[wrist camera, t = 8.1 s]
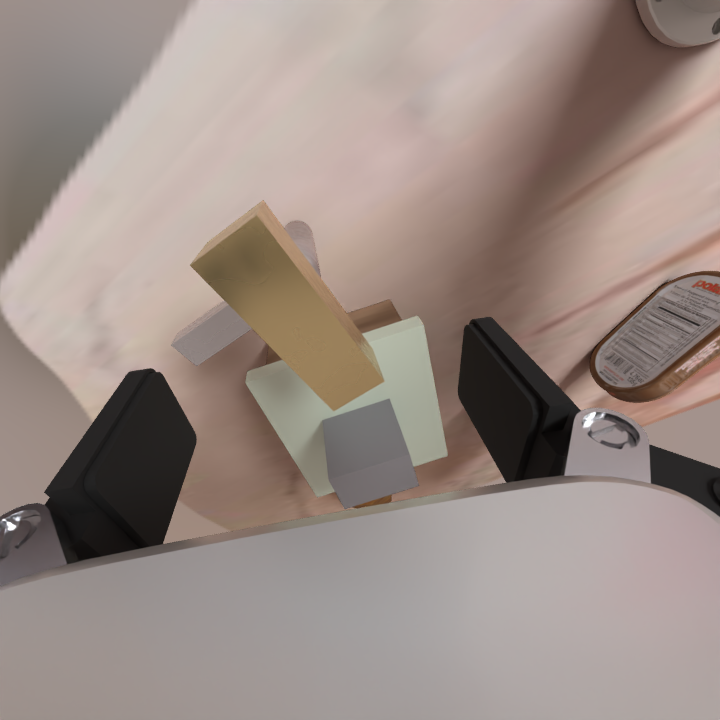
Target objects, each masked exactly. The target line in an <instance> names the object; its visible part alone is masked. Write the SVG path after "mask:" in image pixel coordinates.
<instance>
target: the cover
mask: <svg viewBox="0 0 720 720" xmlns="http://www.w3.org/2000/svg"><path fill="white" fill-rule="evenodd" d="M362 335H363V336H364V338H365V339H366V340H367V342H368V343H369V344H370V346H371V347H372V348H373V351H374V354H375V356H376V359H377V362H378V364H379V367H380V370H381V372H382V375H383V378H384V381H385V382H383V383H381V384H379V385H378V386H376V387H374V388H373V389H371V390H369V391H368V392H366V393H364V394H362V395H361V396H359V397H357V398H356V399H354V400H352V401H351V402H349V403H347V404H345V405H344V406H342V407H340V408H339V409H337V410H335V411H333V410H332V409H331V408H330V407H329V406H328V405H327V404H326V403H325V402H324V401H323V400H322V399H321V398H320V397H319V396H318V395H317V394H316V393H315V392H314V391H313V390H312V389H311V388H310V387H309V386H308V385H307V384H306V383H305V382H304V381H303V380H302V379H301V378H300V377H299V376H298V375H297V374H296V373H295V372H294V371H293V370H292V369H291V368H290V367H289V366H288V365H287V364H286V363H285V362H284V361H283V360H280V361H277V362H274V363H271V364H268V365H265V366H262V367H259V368H256V369H253V370H250V371H247V376H246V381H245V383H246V385H247V387H248V388H249V390H250V391H251V393H252V395H253V396H254V398H255V399H256V401H257V402H258V404H259V406H260V407H261V409H262V410H263V412H264V414H265V415H266V417H267V418H268V420H269V422H270V423H271V425H272V426H273V428H274V430H275V431H276V433H277V434H278V436H279V437H280V439H281V441H282V442H283V444H284V445H285V447H286V449H287V450H288V452H289V453H290V455H291V457H292V458H293V460H294V461H295V463H296V464H297V466H298V468H299V469H300V471H301V472H302V474H303V476H304V477H305V479H306V480H307V482H308V484H309V485H310V487H311V488H312V490H313V491H314V493H315V495H316V496H317V497H320V496H324V495H327V494H330V493H333V492H335V493H336V494H337V496H338V498H339V500H340V502H341V503H342V505H343V507H344V509H347V508H350V507H354V506H357V505H360V504H363V503H366V502H369V501H372V500H376V499H379V498H382V497H385V496H388V495H391V494H395V493H398V492H401V491H404V490H407V489H410V488H413V487H417V486H419V484H418V481H417V477H416V474H415V470H414V467H415V466H418V465H421V464H424V463H427V462H430V461H434V460H437V459H440V458H443V457H446V456H448V453H447V448H446V442H445V437H444V432H443V426H442V421H441V415H440V410H439V404H438V399H437V394H436V388H435V383H434V377H433V372H432V367H431V361H430V356H429V350H428V345H427V340H426V334H425V329H424V324H423V323H422V321H421V320H420V318H419V317H418V316H415V317H411V318H408V319H405V320H402V321H399V322H396V323H393V324H390V325H387V326H384V327H381V328H378V329H375V330H372V331H369V332H366V333H363V334H362Z"/></svg>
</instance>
